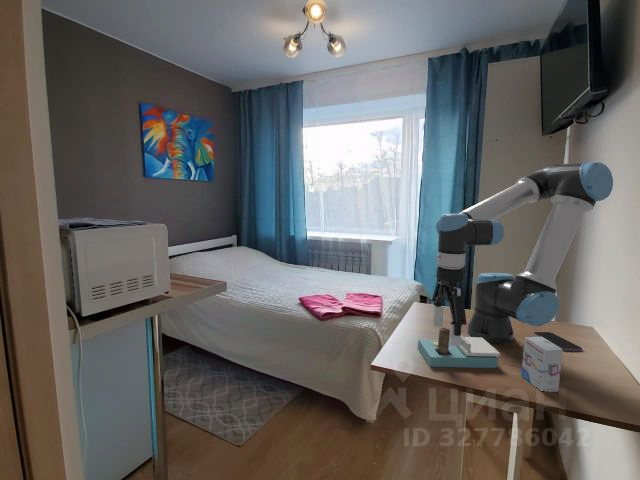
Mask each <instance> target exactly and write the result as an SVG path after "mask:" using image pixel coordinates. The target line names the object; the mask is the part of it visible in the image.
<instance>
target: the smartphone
mask: <svg viewBox="0 0 640 480" xmlns="http://www.w3.org/2000/svg"><path fill="white" fill-rule="evenodd" d="M533 334H534V335H535V336H536V337H538V336H539V337H543V338H545V339H546V340H548V341H550V342H551V343H553V344H555V345H556V346H558V347H559V348H561V349H562V350H563V352H564V351H565V352H581V351H583V348H582V347H581V346H579V345H577V344H575V343H573V342H571V341H569V340H567V339H565V338H564V337H561V336H559V335H558V334H555V333H553V332H552V331H533Z"/></svg>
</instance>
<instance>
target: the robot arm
mask: <svg viewBox="0 0 640 480" xmlns="http://www.w3.org/2000/svg"><path fill="white" fill-rule="evenodd" d="M612 174H613V173H612V170H611V168H609V167H608V166H607V164H605V163H602V162H599V161H584V162H577V163H576V162H574V163H561V164H560V163H558V164H552V165H548V166H544V167H542V168H540V169H538V170H535V171H533V172H531V173H528V174H527V175H525V176H523V177H521V178H519V179H518V180H517V181H516V182H515V184H514V185H512V186H509V187H508V188H506V189H504V190H502V191H499V192H498V193H496V194H493V195H492V196H490V197H488V198H486V199H484V200H482V201H480V202H477V203H476V204H474V205H472V206H470V207H468V208H466V209H464V210H462V211H460V212H458V213H453V212H452V213H443V214H442V215H441V216H440V218H438V221H436V225H435V228H436V229H435V230H436V232H437V234H438V242H437V243H438V247H437V255H436V256H435V257H436V259H437V266H436V276H435V277H436V284H435V287H434V291H433V294H432V299H431V301H432V303H433V306H434V309H433V323H432V326H433V327H438V328H439V327H440V328H443V322H444V306H445V302H448V305H449V310H450V314H451V320H452V321H451V322H450V336H449V340H450V346H460V343H461V335H462V327H463V326H466V325H467V328H466V332H467V333H468V334H469V336H470V337H482V338H483V339H484V340H486V341H487V342H488V343H491V344H492V343H493V344H499V345H500V344H509V343H510V344H511V343H512V342H513V341H514V335H515V334H514V329H513V326H512V320H511V318H513V319H515V320H517V321H519V322H521V323H522V324H526V325H530V326H532V327H541V326H544V325H547V324H548V323H550V322H552V320H553V319H554V318H555V317H557V315H558V312H559V310H560V304H559V303H560V300H559V297H558V296H557V295H556V293H557V291H558V289H557V287H556V286H555V281H556V278H557V276H558V274H559V271H560V270H561V268H562V264H564V263H563V262H564V261H565V259H566V256H567V253H568V251H569V249H570V247H571V244H572V243H573V241H574V237H575V236H576V233H577V231H578V228H579V226H580V224H581V222H582V220H583V217H584V215H585V214H586V213H588V212H591V211H592V210H593V209H594V207H595V206H596V203H597V202H601V201H605V200H606V199H607V198H609V196H610V195H611V193H612V191H613V187H614V177H613V175H612ZM541 200H542V201H543V200H550V202H551V203H552V206H551V210H550V212H549V214H548V215H547V219H546V221H545V223H544V225H543V228H542V230H541V232H540V234H539V237H538V240H537V241H536V244H535V246H534V247H533V249H532V250H533V251H532V253H531V255H530V257H529V259H528V261H527V263H526V266H525V268H524V270H523V271H522V272H520V273H518V274H516V276H515V275H514V274H511V273H506V272H481V273H480V274H479V275H478V276H477V280H476V283H475V285H476V287H475V296H474V297H475V299H474V308H473V309H474V310H473V313H472V315H471V317H470V319H469V322H467V317H466V315H467V314H466V307H465V300H464V288H459V285H458V284H459V283H461V282H463V281H464V277H465V268H464V267H465V265H466V255H467V253H466V252H467V251H466V250H467V247H469V246H470V247H472V246H474V247H475V246H487V247H488V246H494V245H498V244H500V243H501V242H502V241H503V239H504V236H505V235H504V234H505V228H504V226H503V224H502V223H501V222H500V221H499V220H497V219H499V218H501V217H502V216H503V217H504V216H505V215H506V214H508V213H510V212H512V211H514V210H517V209H519V208H520V207H522V206H525V204H534V203H537V202H538V201H541ZM467 323H468V324H467Z"/></svg>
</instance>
